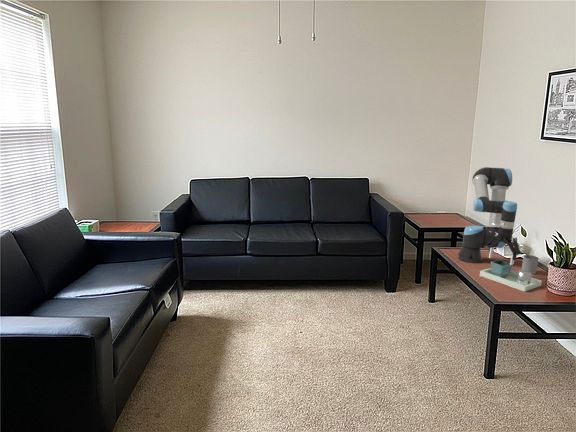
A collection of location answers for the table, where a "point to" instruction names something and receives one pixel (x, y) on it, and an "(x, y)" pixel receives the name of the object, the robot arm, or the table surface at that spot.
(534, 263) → the cup
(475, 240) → the robot arm
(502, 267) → the flower pot
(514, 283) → the shallow serving tray
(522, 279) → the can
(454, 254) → the table surface
